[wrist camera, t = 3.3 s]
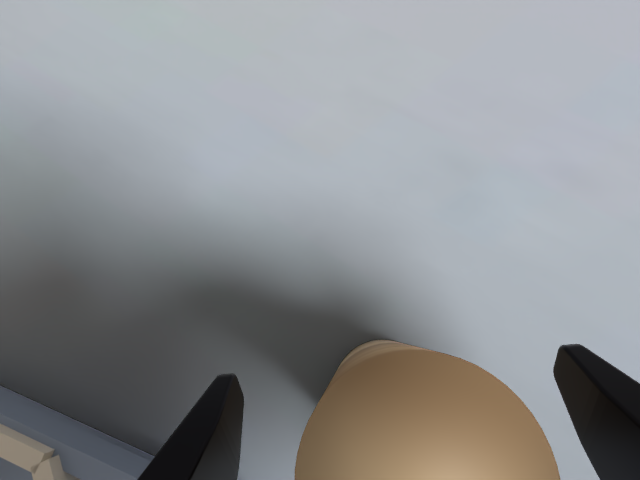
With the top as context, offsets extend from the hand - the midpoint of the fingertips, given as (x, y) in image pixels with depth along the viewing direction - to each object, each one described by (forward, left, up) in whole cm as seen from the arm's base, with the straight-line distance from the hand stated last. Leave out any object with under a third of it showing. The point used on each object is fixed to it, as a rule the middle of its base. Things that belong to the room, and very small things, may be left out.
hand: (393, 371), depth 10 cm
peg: (-1, -1, -7) cm, 7 cm away
